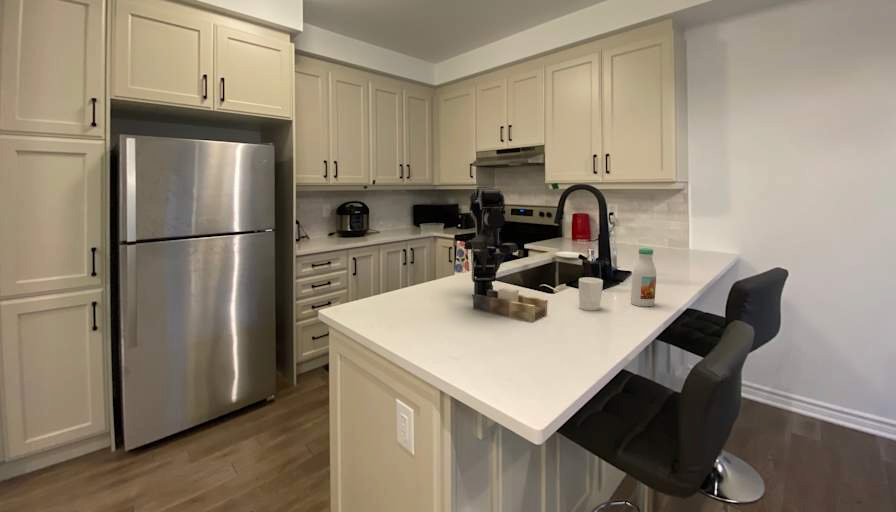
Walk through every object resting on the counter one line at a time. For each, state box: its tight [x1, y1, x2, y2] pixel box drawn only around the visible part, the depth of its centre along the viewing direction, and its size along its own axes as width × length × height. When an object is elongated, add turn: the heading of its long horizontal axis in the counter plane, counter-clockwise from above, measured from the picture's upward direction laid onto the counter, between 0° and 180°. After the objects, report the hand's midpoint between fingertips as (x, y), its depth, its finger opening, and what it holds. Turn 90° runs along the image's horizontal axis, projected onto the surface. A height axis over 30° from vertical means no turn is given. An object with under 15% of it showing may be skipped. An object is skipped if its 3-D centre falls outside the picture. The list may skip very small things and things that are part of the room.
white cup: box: [578, 277, 604, 311], centre depth 145 cm, size 8×8×10 cm
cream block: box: [497, 287, 520, 302], centre depth 142 cm, size 5×5×5 cm
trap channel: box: [472, 289, 549, 323], centre depth 142 cm, size 23×10×5 cm, turn 51°
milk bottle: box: [630, 247, 657, 308], centre depth 148 cm, size 8×8×20 cm
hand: (490, 271), depth 145 cm, fingers open, 5 cm apart
